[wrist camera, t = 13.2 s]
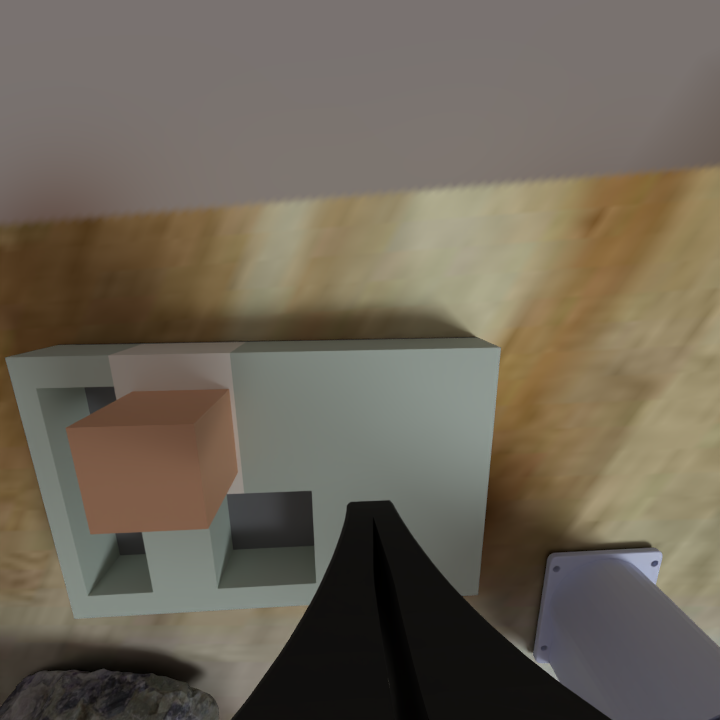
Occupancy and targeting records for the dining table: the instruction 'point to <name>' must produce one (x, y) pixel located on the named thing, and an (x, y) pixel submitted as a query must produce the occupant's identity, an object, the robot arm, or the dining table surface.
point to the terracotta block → (155, 460)
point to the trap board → (273, 462)
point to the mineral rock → (106, 697)
